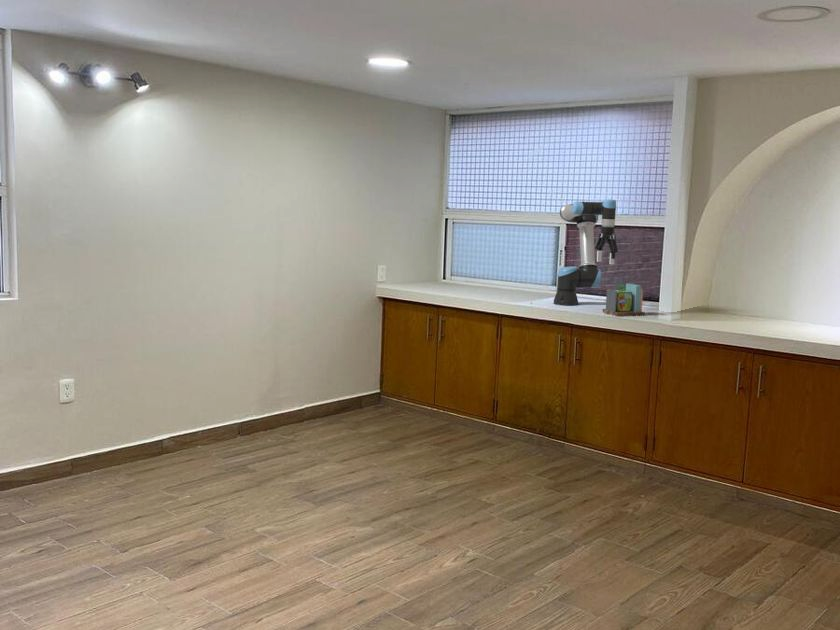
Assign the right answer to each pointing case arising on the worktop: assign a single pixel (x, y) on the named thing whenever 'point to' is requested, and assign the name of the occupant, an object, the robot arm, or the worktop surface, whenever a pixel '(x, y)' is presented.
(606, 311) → the shelf
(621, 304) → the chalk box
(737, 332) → the worktop surface
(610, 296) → the bookend
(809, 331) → the worktop surface
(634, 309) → the books
